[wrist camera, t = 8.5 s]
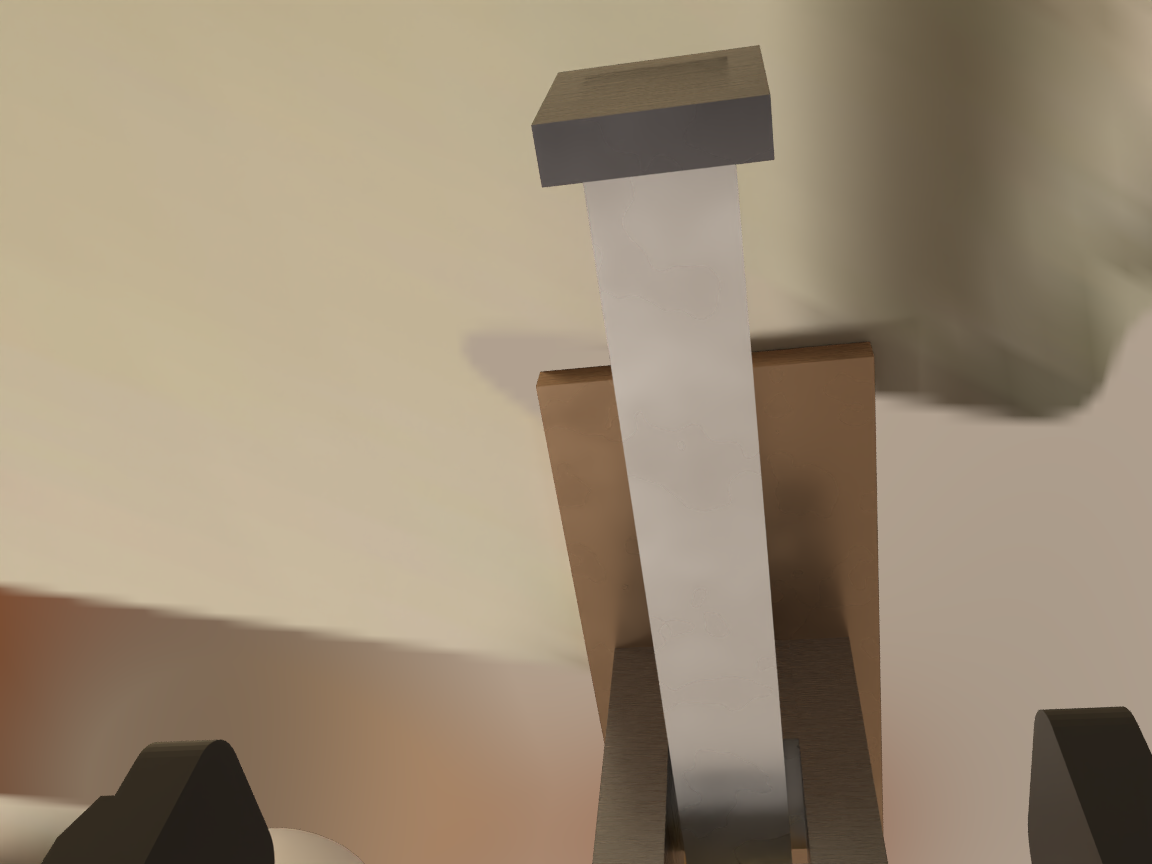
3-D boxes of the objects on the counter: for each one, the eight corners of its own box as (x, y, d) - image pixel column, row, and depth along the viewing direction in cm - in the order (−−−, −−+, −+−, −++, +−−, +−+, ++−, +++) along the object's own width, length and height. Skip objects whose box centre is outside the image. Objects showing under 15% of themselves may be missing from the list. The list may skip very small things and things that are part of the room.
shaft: (759, 45, 23) (770, 93, 20) (810, 813, 35) (823, 936, 31) (558, 72, 24) (531, 125, 20) (674, 816, 36) (670, 937, 32)
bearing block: (869, 341, 32) (942, 584, 22) (881, 906, 45) (931, 1220, 35) (540, 371, 34) (473, 609, 24) (641, 908, 47) (624, 1208, 37)
